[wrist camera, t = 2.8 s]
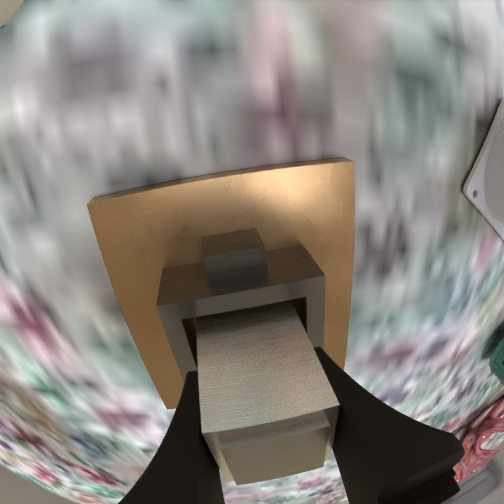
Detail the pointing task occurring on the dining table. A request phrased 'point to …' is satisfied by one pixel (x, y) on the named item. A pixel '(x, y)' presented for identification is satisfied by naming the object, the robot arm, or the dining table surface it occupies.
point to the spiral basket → (479, 443)
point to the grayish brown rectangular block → (263, 394)
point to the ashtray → (8, 10)
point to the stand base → (229, 256)
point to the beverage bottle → (498, 361)
